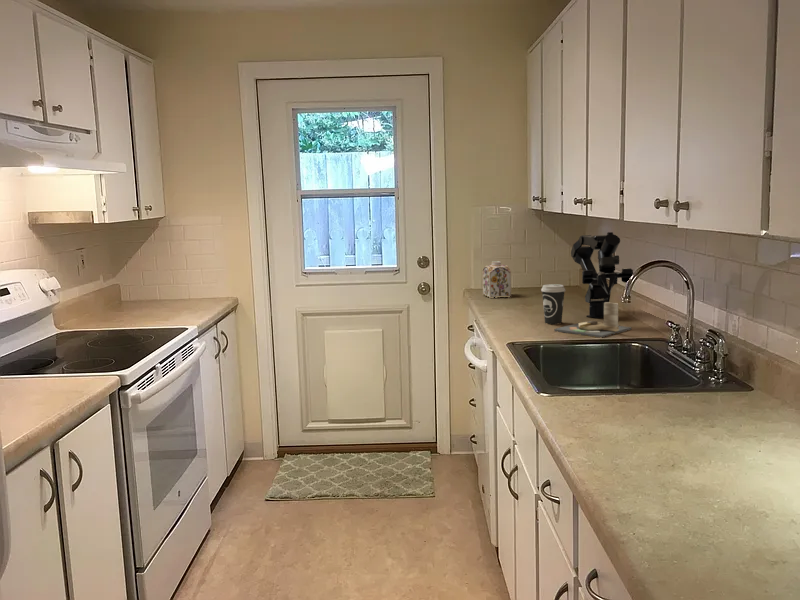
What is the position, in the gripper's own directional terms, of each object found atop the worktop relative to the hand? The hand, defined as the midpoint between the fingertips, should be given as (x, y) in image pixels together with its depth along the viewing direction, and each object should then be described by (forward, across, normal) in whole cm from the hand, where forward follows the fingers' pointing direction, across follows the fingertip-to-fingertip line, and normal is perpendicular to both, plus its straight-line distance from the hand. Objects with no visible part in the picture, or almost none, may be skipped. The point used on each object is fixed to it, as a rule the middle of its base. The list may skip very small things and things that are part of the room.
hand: (608, 293), depth 262 cm
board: (+15, -7, +2) cm, 16 cm away
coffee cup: (+4, -21, +13) cm, 25 cm away
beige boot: (+16, -5, -1) cm, 17 cm away
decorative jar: (-48, -49, +66) cm, 95 cm away
